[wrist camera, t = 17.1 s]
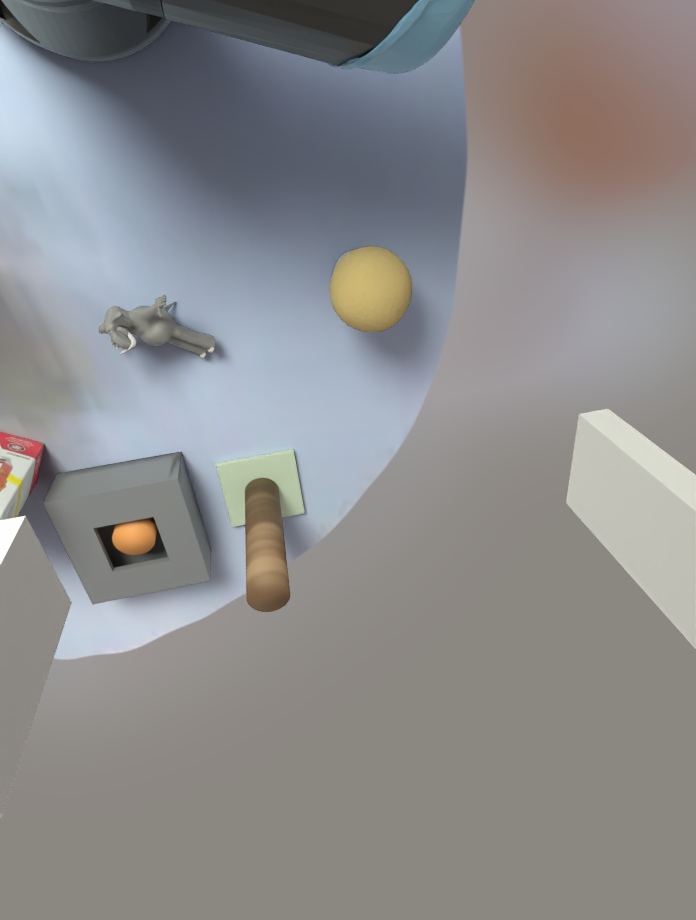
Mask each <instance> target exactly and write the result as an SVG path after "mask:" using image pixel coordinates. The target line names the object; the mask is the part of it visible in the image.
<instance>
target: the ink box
mask: <svg viewBox="0 0 696 920" xmlns="http://www.w3.org/2000/svg"><path fill="white" fill-rule="evenodd" d="M43 448H44V444H43V443H41V442H37V441H33V440H29V439H25V438H21V437H18V436H13V435H10V434H6V433H2V432H0V520H5V519H11V518H16V517H17V516H18V515H19V513H20V511H21V509H22V507H23V506H24V504H25V502H26V500H27V499H28V497H29V495H30V493H31V492H32V490H33V488H34V486H35V484H36V483H37V478H38V473H39V468H40V463H41V459H42V453H43Z"/></svg>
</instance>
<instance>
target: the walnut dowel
mask: <svg viewBox="0 0 696 920" xmlns="http://www.w3.org/2000/svg"><path fill="white" fill-rule="evenodd" d="M245 534H246V592H247V602H248V604H249V605H250V606H251V607H252V608H253V609H255V610H258V611H262V612H271V611H275V610H278V609H280V608H282V607H283V606H285V605H286V604H287V602H288V600H289V599H290V588H289V579H288V570H287V560H286V551H285V541H284V532H283V523H282V513H281V504H280V495H279V488H278V485H277V484H276V483H275V482H274V481H272V480H271V479H268V478H257V479H254V480H252V481H251V482H250V483H248V485H247V486H246V488H245Z"/></svg>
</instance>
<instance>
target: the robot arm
mask: <svg viewBox="0 0 696 920" xmlns="http://www.w3.org/2000/svg"><path fill="white" fill-rule="evenodd" d="M474 1H475V0H0V21H1V22H2V23H3V24H4V25H6V26H7V27H8V28H10V29H11V30H13V31H14V32H15V33H17V34H18V35H20V36H22V37H23V38H25V39H26V40H28V41H30V42H32V43H34V44H36V45H38V46H40V47H42V48H44V49H47V50H49V51H51V52H54V53H57V54H59V55H62V56H65V57H69V58H73V59H78V60H84V61H98V62H99V61H111V60H116V59H121V58H124V57H127V56H130V55H132V54H134V53H137V52H139V51H140V50H142V49H144V48H145V47H147V46H148V45H150V44H151V43H152V42H153V41H154V40H156V39H157V38H158V37H159V36H160V35H161V34H162V33H163V32H164V30H165V29H166V28H167V27H168V25H169V24H170V22H171V21H175V22H179V23H183V24H186V25H190V26H194V27H197V28H201V29H205V30H208V31H212V32H216V33H219V34H223V35H227V36H230V37H234V38H238V39H241V40H245V41H249V42H252V43H256V44H260V45H263V46H267V47H271V48H274V49H278V50H282V51H286V52H289V53H293V54H297V55H300V56H304V57H308V58H311V59H315V60H319V61H322V62H326V63H328V64H329V65H330V66H333V67H340V68H342V69H352V68H356V67H357V68H363V69H368V70H374V71H380V72H386V73H393V74H395V73H404V72H408V71H411V70H413V69H415V68H417V67H419V66H421V65H423V64H424V63H425V62H427V61H428V60H430V59H431V58H432V57H433V56H434V55H435V54H436V53H437V52H438V51H439V50H440V49H441V48H442V47H443V46H444V45H445V44H446V43H447V41H448V40H449V39H450V38H451V36H452V35H453V34H454V32H455V31H456V30H457V28H458V27H459V25H460V24H461V22H462V21H463V19H464V18H465V16H466V15H467V13H468V11H469V10H470V8H471V6H472V5H473V3H474ZM566 503H567V505H569V507H570V508H571V509H572V510H573V511H574V512H575V514H576V515H577V516H578V517H579V518H580V519H581V520H582V521H583V523H584V524H585V525H586V526H587V527H588V528H589V529H590V531H591V532H592V533H593V534H594V535H595V536H596V537H597V538H598V539H599V541H600V542H601V543H602V544H603V545H604V546H605V547H606V548H607V550H608V551H609V552H610V553H611V554H612V555H613V556H614V558H615V559H616V560H617V561H618V562H619V563H620V564H621V565H622V566H623V568H624V569H625V570H626V571H627V572H628V573H629V574H630V576H631V577H632V578H633V579H634V580H635V581H636V582H637V584H638V585H639V586H640V587H641V588H642V589H643V590H644V591H645V593H646V594H647V595H648V596H649V597H650V598H651V599H652V600H653V602H654V603H655V604H656V605H657V606H658V607H659V608H660V609H661V611H662V612H663V613H664V614H665V615H666V616H667V617H668V618H669V619H670V621H671V622H672V623H673V624H674V625H675V626H676V628H677V629H678V630H679V631H680V632H681V633H682V634H683V635H684V637H685V638H686V639H687V640H688V641H689V642H690V643H691V644H692V646H693V647H694V648H695V649H696V475H695V474H694V473H692V472H691V471H690V470H688V469H687V468H686V467H684V466H683V465H682V464H680V463H679V462H678V461H676V460H675V459H674V458H672V457H671V456H670V455H669V454H667V453H666V452H665V451H663V450H662V449H661V448H659V447H658V446H656V445H655V444H654V443H653V442H651V441H650V440H649V439H647V438H646V437H645V436H643V435H642V434H641V433H639V432H638V431H637V430H635V429H634V428H633V427H631V426H630V425H629V424H628V423H626V422H625V421H624V420H622V419H621V418H619V417H618V416H617V415H615V414H614V413H613V412H612V411H610V410H609V409H604V410H598V411H593V412H588V413H582V414H579V418H578V424H577V432H576V438H575V445H574V453H573V459H572V466H571V473H570V479H569V486H568V494H567V500H566ZM70 606H71V601H70V599H69V597H68V595H67V593H66V591H65V589H64V587H63V585H62V584H61V582H60V580H59V578H58V576H57V574H56V572H55V570H54V568H53V567H52V565H51V563H50V561H49V559H48V557H47V555H46V553H45V551H44V550H43V548H42V546H41V544H40V542H39V540H38V538H37V536H36V534H35V533H34V531H33V529H32V527H31V525H30V523H29V521H28V519H27V517H26V516H22V517H16V518H11V519H5V520H0V821H1V818H2V815H3V812H4V809H5V806H6V803H7V800H8V797H9V794H10V790H11V787H12V784H13V781H14V778H15V775H16V772H17V769H18V765H19V763H20V759H21V757H22V753H23V750H24V747H25V744H26V741H27V738H28V735H29V732H30V729H31V726H32V723H33V720H34V717H35V713H36V710H37V707H38V704H39V701H40V698H41V695H42V692H43V689H44V685H45V682H46V680H47V676H48V673H49V670H50V667H51V664H52V661H53V658H54V655H55V652H56V649H57V646H58V643H59V640H60V636H61V633H62V630H63V627H64V624H65V621H66V618H67V615H68V612H69V609H70Z"/></svg>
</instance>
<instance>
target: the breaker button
mask: <svg viewBox="0 0 696 920" xmlns="http://www.w3.org/2000/svg"><path fill="white" fill-rule="evenodd" d="M156 534H157V525H156V522H155V519H154V517H151V518H146V519H140V520H135V521H130V522H124V523H119V524H116V525H115V528H114V532H113V536H112V541H113V544H114V546H115V547H116V548H117V549H118V550H119V551H121V552H123V553H125V554H129V555H140V554H144V553H146V552H148V551H149V550H151V549H152V548H153V546H154V544H155V540H156Z"/></svg>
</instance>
